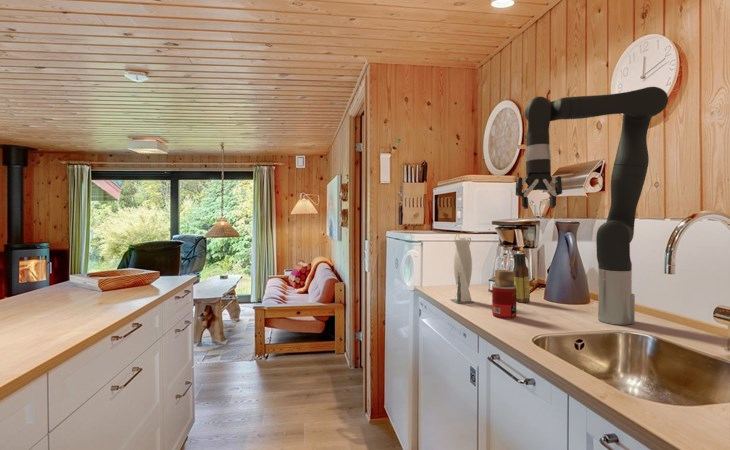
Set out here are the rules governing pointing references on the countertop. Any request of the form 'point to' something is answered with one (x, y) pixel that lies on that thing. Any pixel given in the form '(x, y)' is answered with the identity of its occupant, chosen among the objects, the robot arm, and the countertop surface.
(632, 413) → the countertop surface
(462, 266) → the skyscraper
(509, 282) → the walnut cube
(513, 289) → the canned food
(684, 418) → the countertop surface
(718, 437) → the countertop surface
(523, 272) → the sauce bottle
